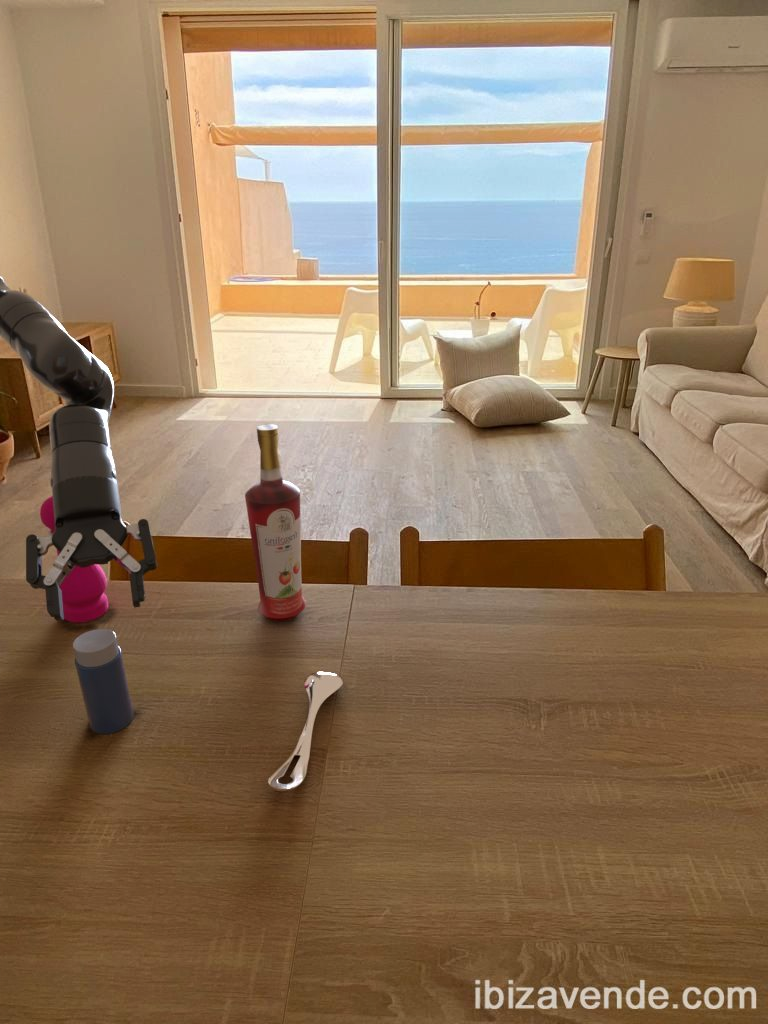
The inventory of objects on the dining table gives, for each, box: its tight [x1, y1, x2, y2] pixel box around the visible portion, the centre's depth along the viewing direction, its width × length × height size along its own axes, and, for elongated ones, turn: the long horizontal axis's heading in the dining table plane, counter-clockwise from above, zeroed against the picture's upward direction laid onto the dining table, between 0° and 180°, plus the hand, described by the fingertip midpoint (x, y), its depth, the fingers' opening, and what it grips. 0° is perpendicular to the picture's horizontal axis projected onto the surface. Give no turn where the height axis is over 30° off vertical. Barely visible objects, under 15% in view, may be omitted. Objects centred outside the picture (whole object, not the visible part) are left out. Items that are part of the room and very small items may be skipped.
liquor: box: [244, 423, 307, 623], centre depth 95 cm, size 7×7×28 cm
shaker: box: [72, 628, 134, 735], centre depth 78 cm, size 5×5×11 cm
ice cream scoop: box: [267, 670, 345, 792], centre depth 77 cm, size 20×4×5 cm
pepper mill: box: [39, 495, 109, 623], centre depth 98 cm, size 7×7×20 cm
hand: (98, 612), depth 81 cm, fingers open, 8 cm apart
